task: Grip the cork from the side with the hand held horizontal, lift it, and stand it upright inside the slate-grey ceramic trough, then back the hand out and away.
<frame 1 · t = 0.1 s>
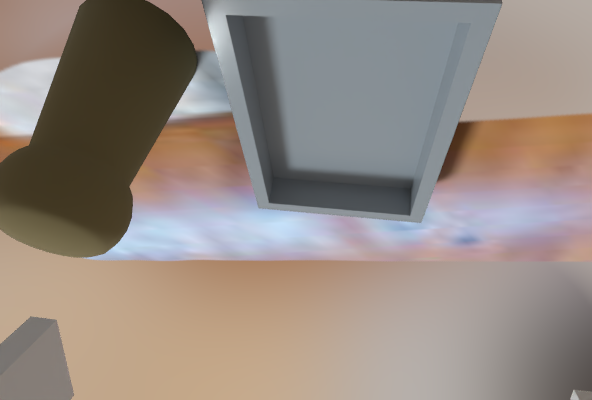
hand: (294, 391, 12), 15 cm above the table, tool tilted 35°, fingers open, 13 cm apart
trough: (344, 101, 24), on the table
cork: (139, 44, 22), on the table
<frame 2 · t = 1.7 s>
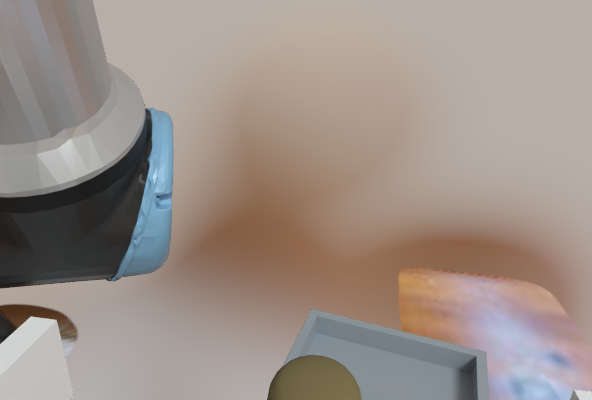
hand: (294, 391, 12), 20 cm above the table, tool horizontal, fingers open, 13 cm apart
trough: (381, 394, 36), on the table
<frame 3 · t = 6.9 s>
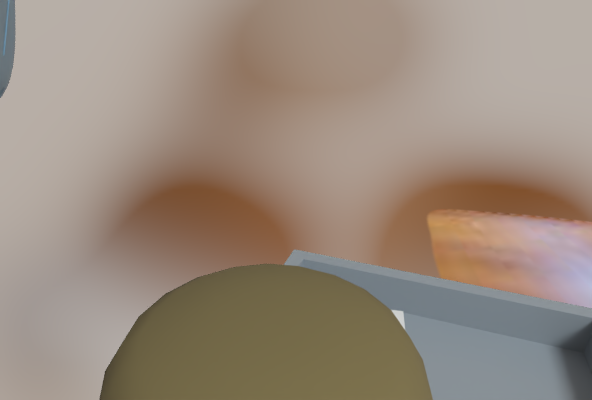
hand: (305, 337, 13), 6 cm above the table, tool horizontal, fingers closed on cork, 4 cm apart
trough: (422, 392, 19), on the table
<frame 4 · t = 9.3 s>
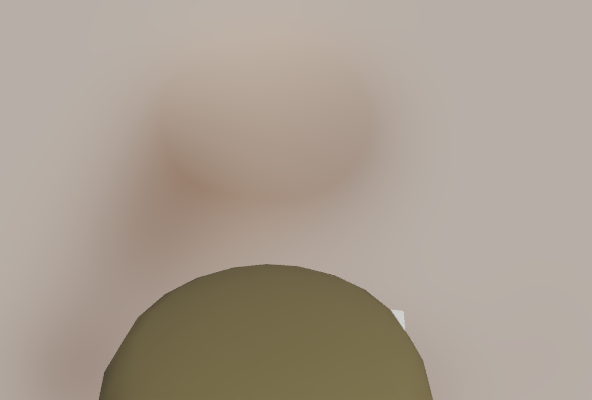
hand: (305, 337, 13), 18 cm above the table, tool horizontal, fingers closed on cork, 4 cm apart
when the fingers open (8 cm above the table, at t = 11.7 s): cork drops 1 cm, resting on trough.
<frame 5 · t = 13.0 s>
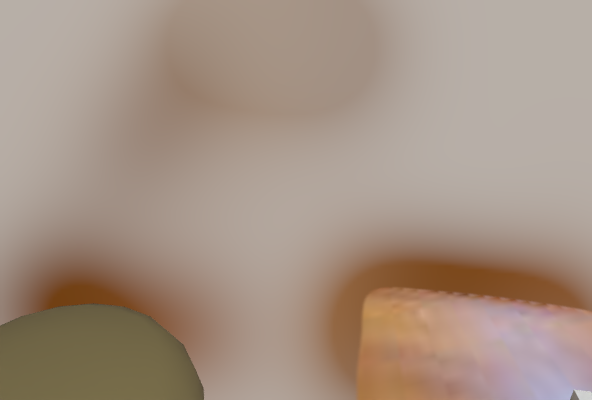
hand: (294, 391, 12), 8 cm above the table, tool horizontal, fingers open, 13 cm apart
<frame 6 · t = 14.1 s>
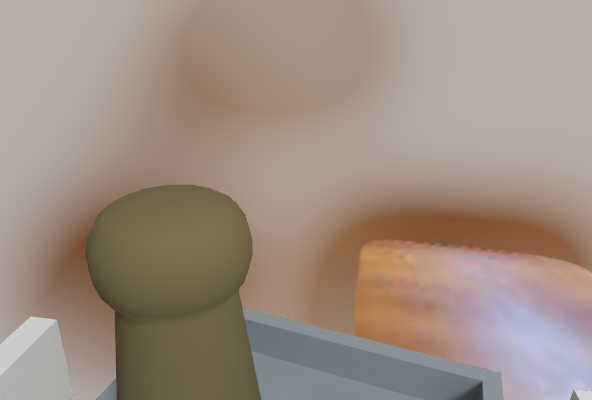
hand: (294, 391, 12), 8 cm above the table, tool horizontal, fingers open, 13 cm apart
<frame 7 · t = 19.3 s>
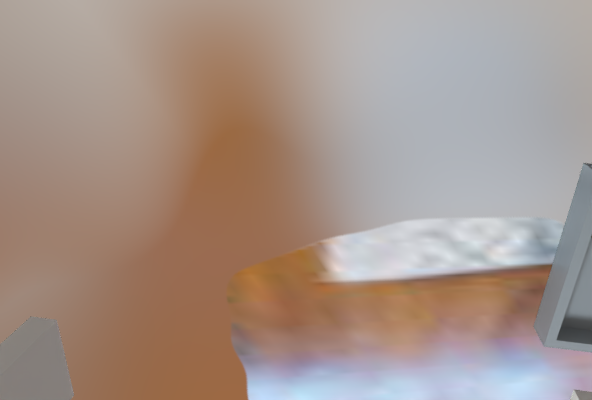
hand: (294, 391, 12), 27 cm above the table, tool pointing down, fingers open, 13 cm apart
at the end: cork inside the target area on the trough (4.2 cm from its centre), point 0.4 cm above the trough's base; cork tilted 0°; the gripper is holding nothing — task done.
